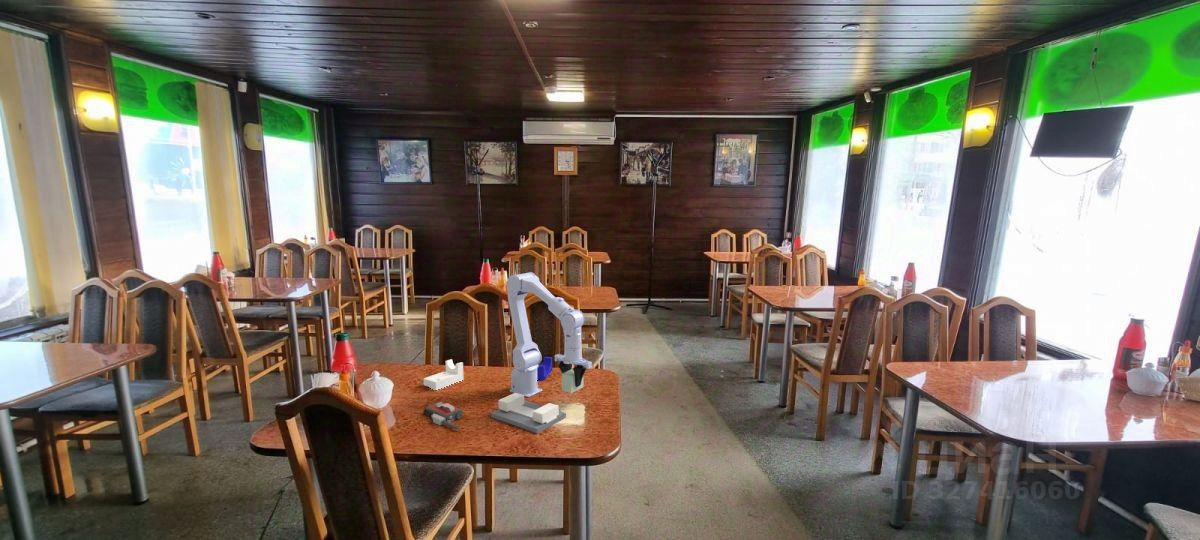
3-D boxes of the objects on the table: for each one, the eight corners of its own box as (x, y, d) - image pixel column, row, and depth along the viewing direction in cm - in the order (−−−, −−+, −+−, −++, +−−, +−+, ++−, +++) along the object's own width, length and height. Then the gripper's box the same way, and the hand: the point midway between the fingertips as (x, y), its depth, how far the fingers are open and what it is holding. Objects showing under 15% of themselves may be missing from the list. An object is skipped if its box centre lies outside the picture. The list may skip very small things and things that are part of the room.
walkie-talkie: (417, 417, 164) (456, 434, 152) (416, 404, 163) (455, 420, 151) (440, 408, 171) (478, 424, 159) (439, 395, 170) (478, 410, 158)
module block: (561, 390, 170) (561, 373, 169) (574, 384, 176) (574, 368, 175) (571, 393, 168) (571, 376, 167) (583, 386, 174) (583, 370, 173)
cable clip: (541, 370, 208) (541, 356, 208) (552, 371, 208) (552, 357, 207) (532, 380, 197) (532, 365, 196) (543, 381, 196) (543, 366, 195)
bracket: (451, 377, 200) (450, 359, 199) (463, 381, 196) (462, 362, 195) (423, 387, 189) (423, 368, 188) (436, 391, 185) (435, 371, 184)
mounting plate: (491, 417, 163) (490, 402, 162) (520, 403, 174) (520, 389, 174) (537, 433, 152) (537, 418, 151) (565, 417, 163) (565, 403, 163)
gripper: (548, 345, 171) (549, 383, 173) (583, 353, 163) (582, 392, 165) (561, 340, 176) (561, 377, 178) (595, 347, 168) (595, 386, 170)
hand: (572, 384), depth 172 cm, fingers closed on module block, 4 cm apart
